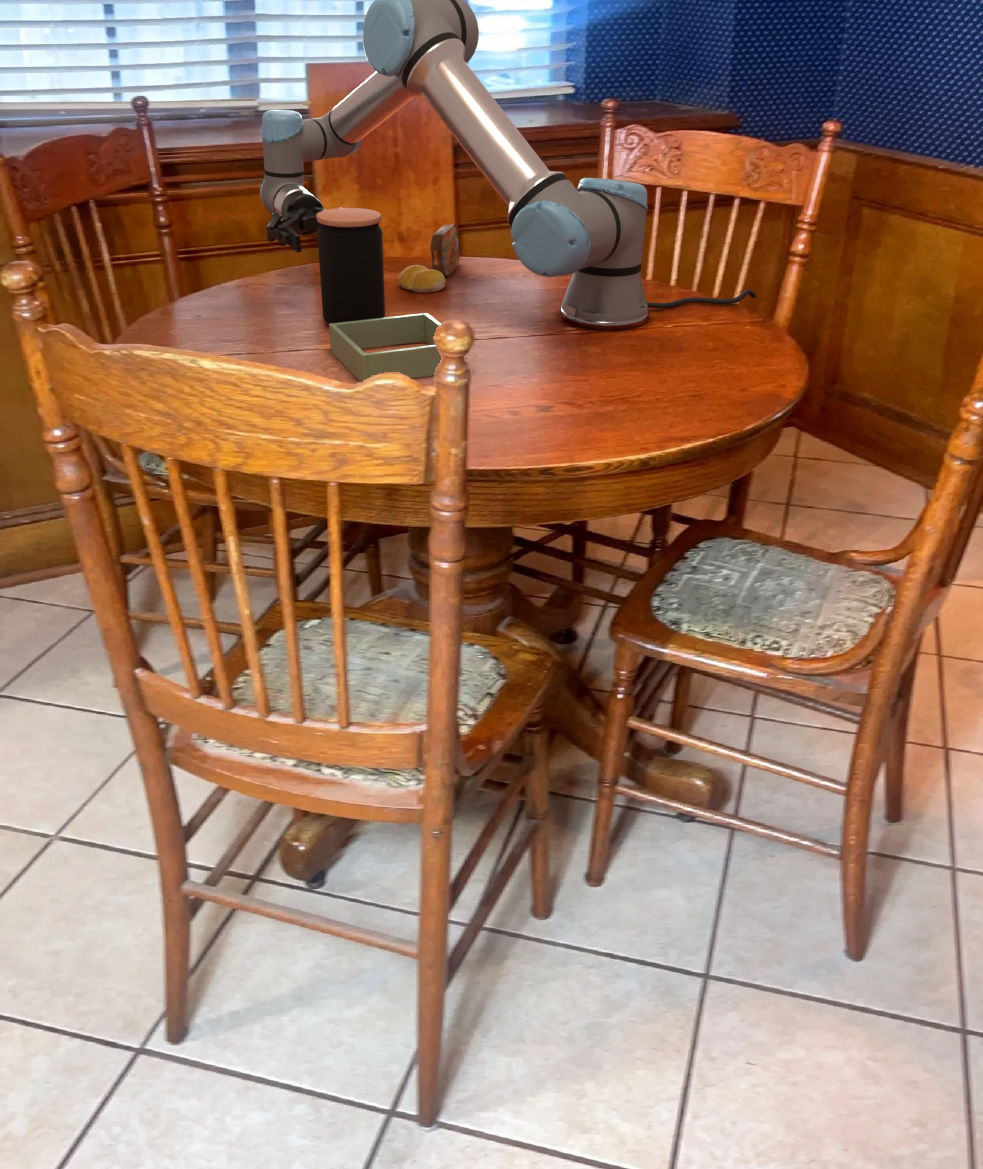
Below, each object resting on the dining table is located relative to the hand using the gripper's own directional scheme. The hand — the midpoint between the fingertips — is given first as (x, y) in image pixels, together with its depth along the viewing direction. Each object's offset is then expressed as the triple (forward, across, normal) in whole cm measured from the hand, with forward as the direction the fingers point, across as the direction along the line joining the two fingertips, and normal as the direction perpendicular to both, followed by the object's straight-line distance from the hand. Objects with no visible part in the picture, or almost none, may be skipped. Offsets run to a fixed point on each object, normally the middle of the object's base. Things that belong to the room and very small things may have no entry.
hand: (336, 240), depth 180 cm
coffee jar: (+10, +1, -11) cm, 15 cm away
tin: (-16, -28, -13) cm, 35 cm away
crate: (+31, +1, -10) cm, 33 cm away
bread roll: (-6, -19, -12) cm, 23 cm away
